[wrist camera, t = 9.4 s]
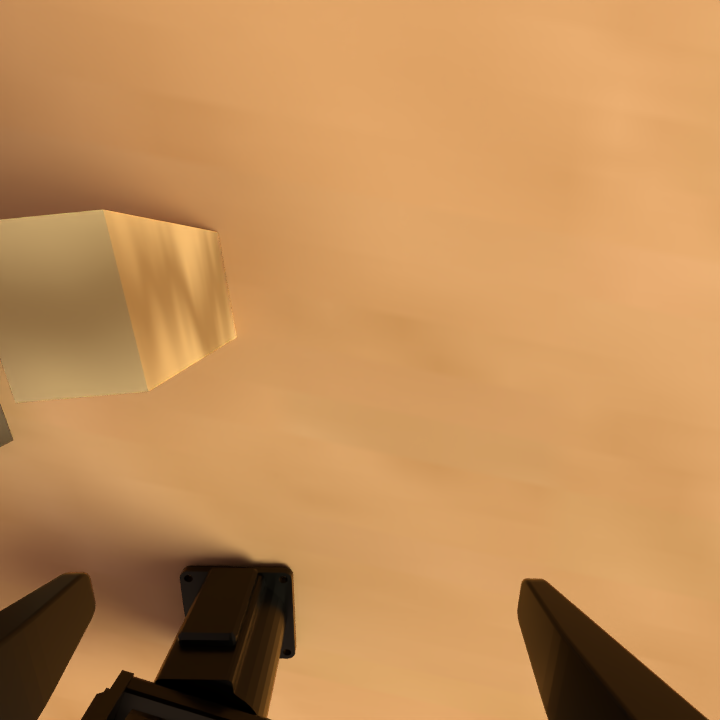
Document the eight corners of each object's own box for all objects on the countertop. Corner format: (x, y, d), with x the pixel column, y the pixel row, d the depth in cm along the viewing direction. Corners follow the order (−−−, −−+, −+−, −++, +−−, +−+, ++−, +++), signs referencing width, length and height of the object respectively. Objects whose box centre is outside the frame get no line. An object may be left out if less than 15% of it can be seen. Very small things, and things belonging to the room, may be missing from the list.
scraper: (251, 420, 20) (181, 522, 12) (-16, 442, 20) (-250, 555, 12) (198, 122, 16) (49, -2, 8) (-126, 157, 17) (-549, 66, 9)
